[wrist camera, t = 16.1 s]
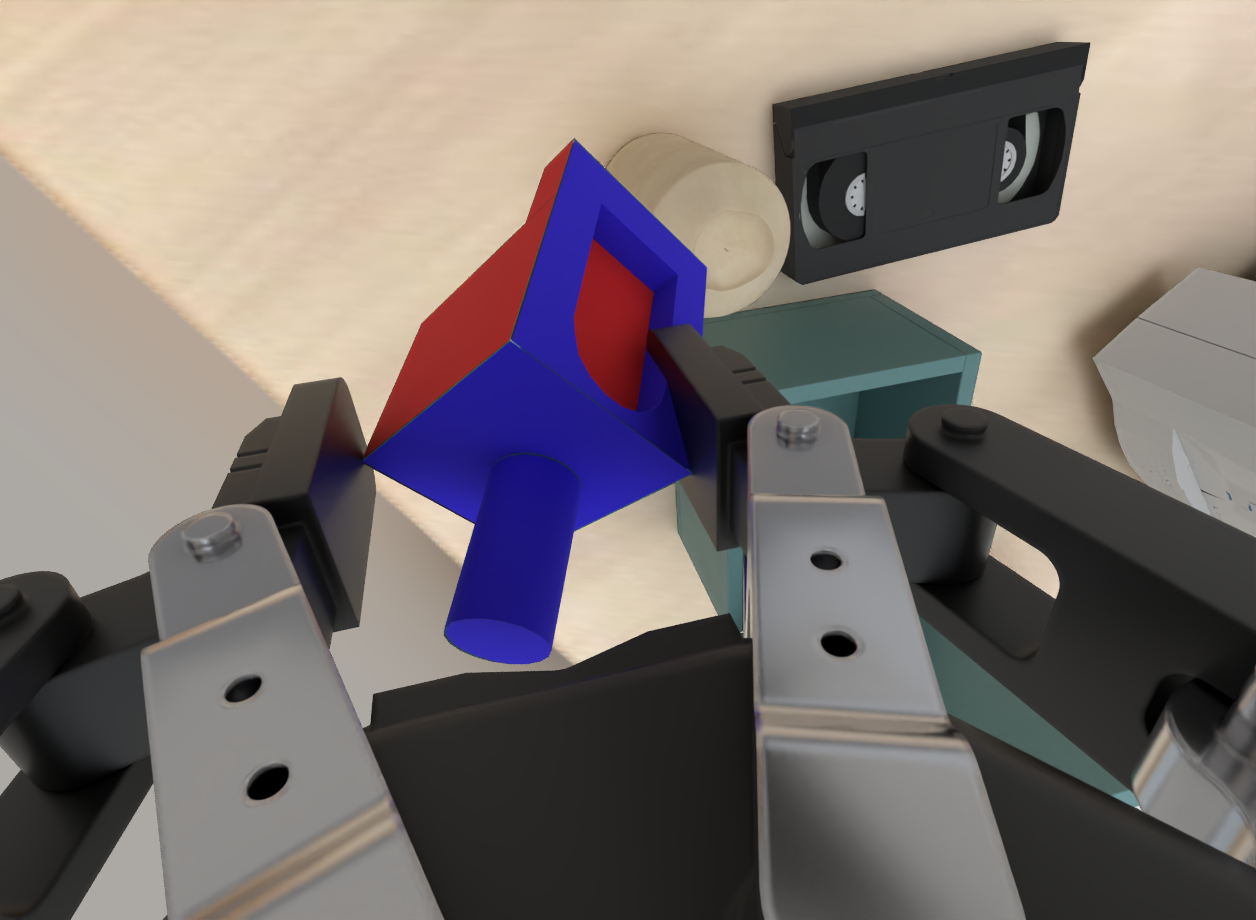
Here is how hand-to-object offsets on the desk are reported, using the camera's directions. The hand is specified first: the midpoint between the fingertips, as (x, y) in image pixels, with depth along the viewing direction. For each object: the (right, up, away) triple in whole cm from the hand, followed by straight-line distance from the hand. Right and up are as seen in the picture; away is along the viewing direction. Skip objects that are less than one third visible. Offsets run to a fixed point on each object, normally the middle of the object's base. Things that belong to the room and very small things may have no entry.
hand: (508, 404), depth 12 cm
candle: (+3, +11, +20) cm, 23 cm away
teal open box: (+10, +1, +28) cm, 30 cm away
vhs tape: (+16, +14, +22) cm, 31 cm away
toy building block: (0, +2, +2) cm, 3 cm away
